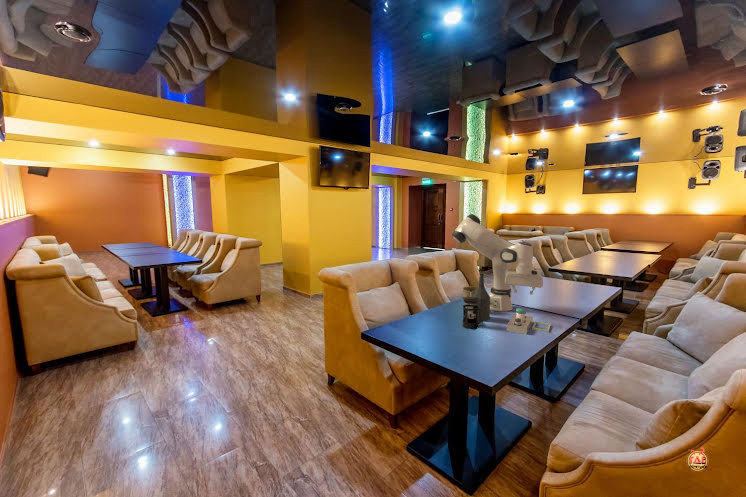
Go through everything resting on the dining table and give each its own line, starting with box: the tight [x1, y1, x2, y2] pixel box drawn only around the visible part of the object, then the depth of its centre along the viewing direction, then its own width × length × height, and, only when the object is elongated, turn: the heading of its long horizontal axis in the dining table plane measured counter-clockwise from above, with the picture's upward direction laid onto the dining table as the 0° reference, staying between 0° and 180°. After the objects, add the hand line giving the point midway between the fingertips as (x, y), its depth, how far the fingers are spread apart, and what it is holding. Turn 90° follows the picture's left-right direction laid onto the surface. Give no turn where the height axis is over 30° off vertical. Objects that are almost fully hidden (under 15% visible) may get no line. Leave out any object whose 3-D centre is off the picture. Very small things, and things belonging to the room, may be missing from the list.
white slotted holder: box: [506, 313, 534, 335], centre depth 184 cm, size 22×10×5 cm, turn 146°
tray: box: [531, 321, 552, 333], centre depth 182 cm, size 8×12×3 cm, turn 146°
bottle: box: [471, 272, 491, 324], centre depth 198 cm, size 10×10×30 cm
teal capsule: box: [515, 307, 526, 323], centre depth 184 cm, size 5×5×10 cm
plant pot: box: [461, 285, 487, 314], centre depth 216 cm, size 15×15×16 cm
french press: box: [462, 288, 482, 330], centre depth 189 cm, size 12×9×23 cm
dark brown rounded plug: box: [515, 318, 521, 326], centre depth 177 cm, size 3×3×4 cm
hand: (523, 293), depth 188 cm, fingers open, 7 cm apart
